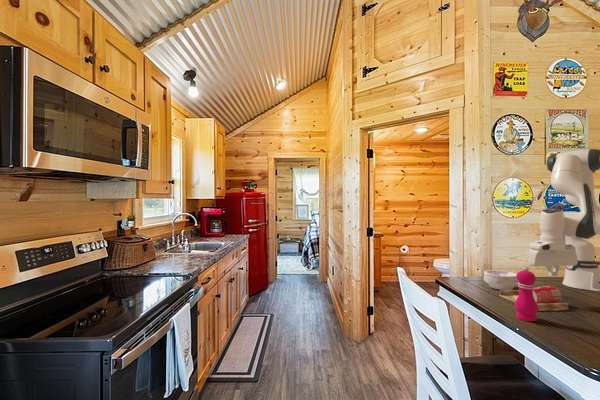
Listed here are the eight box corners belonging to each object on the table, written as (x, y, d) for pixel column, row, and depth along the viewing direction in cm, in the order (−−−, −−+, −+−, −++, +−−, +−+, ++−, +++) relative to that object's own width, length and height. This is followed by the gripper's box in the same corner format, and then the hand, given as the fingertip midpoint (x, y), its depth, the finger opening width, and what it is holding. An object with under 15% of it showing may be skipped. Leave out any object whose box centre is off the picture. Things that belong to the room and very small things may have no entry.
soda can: (555, 283, 132) (531, 285, 130) (566, 299, 128) (541, 301, 126) (543, 289, 138) (519, 291, 135) (553, 305, 133) (529, 307, 131)
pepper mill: (510, 315, 119) (509, 265, 119) (527, 314, 120) (526, 264, 120) (525, 323, 112) (524, 269, 112) (543, 322, 113) (542, 268, 113)
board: (529, 294, 145) (529, 289, 145) (568, 309, 125) (568, 303, 125) (499, 295, 144) (499, 290, 144) (533, 310, 124) (533, 304, 124)
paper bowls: (507, 284, 163) (507, 269, 163) (526, 292, 148) (525, 276, 148) (478, 283, 165) (478, 269, 165) (493, 292, 150) (493, 276, 150)
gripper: (568, 243, 139) (568, 273, 139) (525, 244, 138) (525, 274, 138) (581, 245, 132) (582, 276, 133) (536, 246, 132) (537, 278, 132)
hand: (553, 275), depth 135 cm, fingers closed
